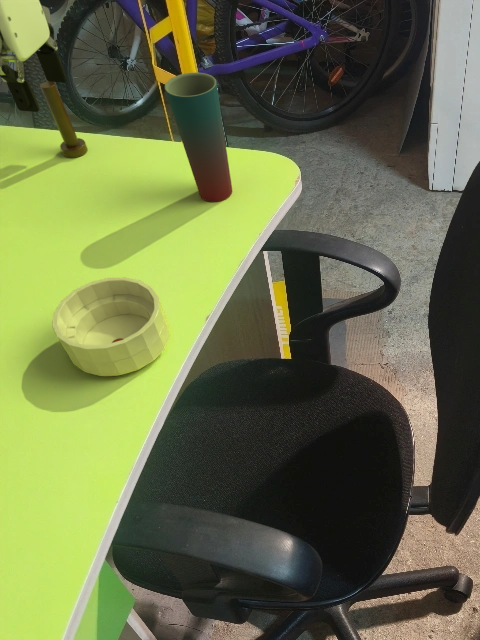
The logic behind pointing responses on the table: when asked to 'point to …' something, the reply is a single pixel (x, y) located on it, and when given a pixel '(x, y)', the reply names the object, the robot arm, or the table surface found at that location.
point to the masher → (63, 122)
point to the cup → (201, 132)
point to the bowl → (112, 326)
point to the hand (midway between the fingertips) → (44, 95)
